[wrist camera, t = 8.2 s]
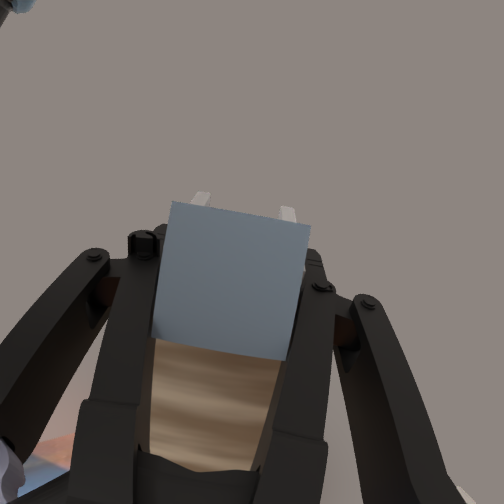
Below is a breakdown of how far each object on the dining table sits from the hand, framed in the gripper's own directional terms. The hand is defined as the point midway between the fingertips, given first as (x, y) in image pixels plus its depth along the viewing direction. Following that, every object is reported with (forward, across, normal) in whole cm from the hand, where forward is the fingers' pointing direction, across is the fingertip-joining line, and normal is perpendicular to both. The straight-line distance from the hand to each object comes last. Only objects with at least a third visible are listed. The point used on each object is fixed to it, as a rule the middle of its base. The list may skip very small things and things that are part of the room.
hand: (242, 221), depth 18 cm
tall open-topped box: (-11, 0, -38) cm, 39 cm away
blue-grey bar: (0, 0, -6) cm, 6 cm away
